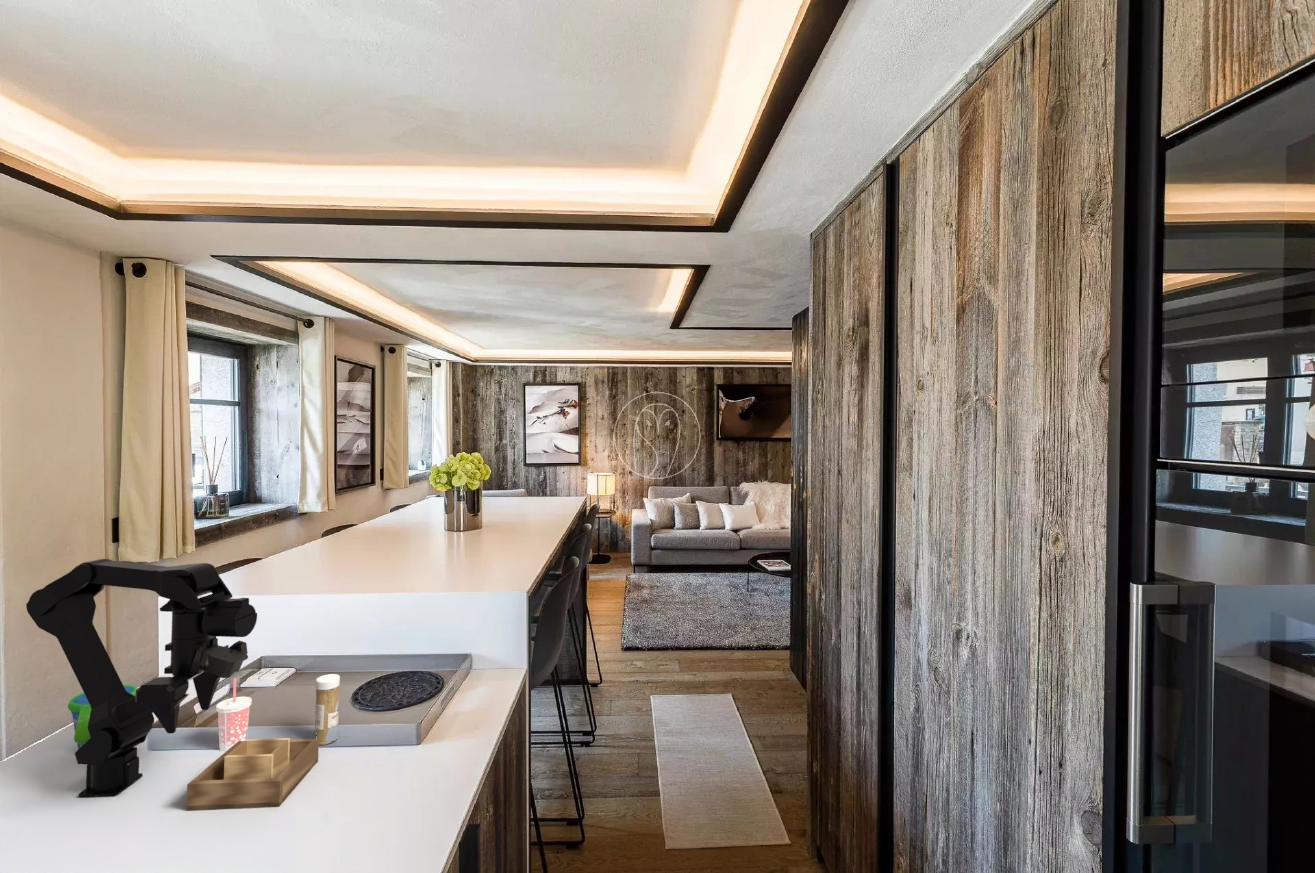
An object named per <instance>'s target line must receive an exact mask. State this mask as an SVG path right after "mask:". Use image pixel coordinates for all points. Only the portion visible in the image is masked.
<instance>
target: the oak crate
mask: <svg viewBox="0 0 1315 873" xmlns="http://www.w3.org/2000/svg"><path fill="white" fill-rule="evenodd" d="M290 739H291V738H290V737H283V738H282V737H281V738H279V737H278V738H252V739H251V738H250V739H249V738H247V739H245V740H244V741H243V742H242V743H241V744H240V745H238V746H237V747H236V748H235V749H234V750H232V751H231V752H230V753H229V754H228V755H227V756H225V759H224V780H232V779H258V778H277V777H278V776H279V775H280V774H281V773H282V772H283V771H284V770H285V769H286V768H287V766H288V765H289V753H290Z"/></svg>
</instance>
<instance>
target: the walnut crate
mask: <svg viewBox="0 0 1315 873" xmlns="http://www.w3.org/2000/svg"><path fill="white" fill-rule="evenodd" d="M242 742H243V741H238V742H237V743H236V744H234V745H233V746H232V747H231V748H230V749H228V750H227V751H226V752H225V751H224V753H223V754H221V755H220V756H219V757H218V758H217V759H216V760H214V761H213V762H212V763H210V764H209V765H208V766H207V767H206V768H205V769H203V771H201V772H200V773H199V774H198V775H197V776H196V777H194V778H193V779H192V780H191V781H190V782H188V783H187V784H186V785H187V786H186V788H187V789H186V811H189V812H190V811H208V810H209V811H210V810H211V811H212V810H213V811H214V810H230V809H231V810H234V809H255V808H279V807H280V806H282V804H283V803H284V802H285V801H286V799H287V798H288V797H289V796H290V795H291V793H293V791H294V790H295V789H296V788H297V787H298V785H299V784H300V783H301V782H302V781H303V780H304V779H305V777H306V776H307V775H308V774H309V773H310V771H311V770H312V769H313V768H314V767H315V765H316V764H317V763H318V762H319V746H320V745H319V739H315V738H297V739H295V738H293V739H292V738H290V753H289V765H288V766H287V768H286V769H285V770H284V771H283V772H282V773H281V774H280V775H279V776H278V777H277V778H258V779H232V780H224V759H225V756H227V755H228V754H229V753H230V752H231V751H232V750H234V749H235V748H236V747H237V746H238V745H240V744H241V743H242Z"/></svg>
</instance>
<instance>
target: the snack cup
mask: <svg viewBox="0 0 1315 873" xmlns="http://www.w3.org/2000/svg"><path fill="white" fill-rule="evenodd" d="M123 686H124V688H125V690H126V691H127V692H128V693H130V694H132V695H134V696H136V690H137V689H138V688H139V687H137V686H134V685H132V684H131V685H130V684H123ZM67 708H68V710H69V711H70V712H71V716H72V723H73V726H74V727H73V730H74V735H73V741H74V742H75V744H76V745H77V748H78V749H79V748H80V747H81V746H83V745H84V744H85V743H86V742H87V741H88V740H89V739H90V738H91V737H90V734H89V731H88V722H89V718H90V713H91V706H90V704H89V702H88V700H87V698H86V696H85V694H84V692H82V693H80V694H77V695H75V696H73V697H71V699H70V700H69V702H68V704H67Z"/></svg>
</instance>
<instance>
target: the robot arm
mask: <svg viewBox="0 0 1315 873" xmlns="http://www.w3.org/2000/svg"><path fill="white" fill-rule="evenodd" d="M106 586H110V587H119V588H126V589H127V588H128V589H138V590H146V591H152V592H154V593H156V594H157V595H158V596H159V597H161V598H163V599H164V598H165V599H169V600H168V601H167V602H166V603H165V604H163V605H162V606H160V608H159V611H160V612H164V613H165V612H171V638H170V639H171V640H170V642H168V643H167V644H165V645H164V652H165V651H166V652H167V651H169V652H170V665H168V666H165V667H164V668H163V669H164V670H163V671H164V672H163V674H164V675H172V676H158V677H157V676H156V677H154V678H152V679H150V680H148V681H147V682H144V683H143V684H141V685H140V686H139V687H137V688H138V689H137V690H136V696H134V695H132V694H130V693H128V692H127V691H126V690H125V688H124V686H123V685H124V684H123V682H122V680H121V678H120V676H119V674H118V672H117V669H116V667H115V665H114V663H113V661H112V660H111V657H110V656H109V653H108V652H107V649H106V648H105V645H104V643H103V641H102V639H101V638H100V636H99V634H98V632H97V629H96V628H95V626H94V623H93V622H94V619H95V618H94V616H95V614H96V608H97V604H96V601H95V597H96V596H97V595H99V594H100V593H101V592H102V591H103V590H104V589H105V587H106ZM30 595H31V596H30V597H29V598H28V599H29V600H28V601H27V602H26V604H25V606H26V611H27V613H28V615H29V616H30V618H31V619H32V621H33V622H34V623H35V624H36V626H37V627H38V628H39V629H41V630H42V631H44V632H46V633H48V634H50V635H52V636H54V637H56V639H57V641H58V642H59V644H60V646H61V648H62V649H61V650H63V653H64V655H65V656H66V658H67V662H68V663H69V665H70V667H71V669H72V672H73V673H74V675H75V677H76V679H77V681H78V683H79V685H80V688H81V689H82V691H83V692H82V693H84V694H85V696H86V698H87V700H88V702H89V704H90V706H91V713H90V718H89V722H88V731H89V734H90V737H91V738H90V739H89V740H88V741H87V742H86V743H85V744H84V745H83V746H81V747H80V748H78V749H77V750H76V751H75V752H74V756H75V759H76V760H75V761H76V763H77V765H86V778H85V789H83V790H82V791H80V792H79V793H78V795H77V796H78V797H79V798H83V797H86V798H88V797H107V796H108V797H109V796H112V797H113V796H117V795H119V794H121V793H122V792H124V791H125V790H126V789H127V788H129V787H130V786H131V785H133V784H135V783H136V782H137V781H138V780H140V779H141V778H143V775H144V774H143V772H141V773H140V757H139V756H138V747H137V746H139V745H140V744H144V742H145V741H146V739H147V736H148V734H149V733H150V731H151V730H152V729H153V725H154V724H155V717H156V718H157V720H158V722H159V723H160V725H161V726H162V728H164V731H165V732H166V733H167V734H174V733H176V731H177V727H178V720H179V713H180V709H181V706H180V705H181V703H182V702H183V701H184V700H185V699H186V698H188V696H189V695H190V694H189V693H187V692H188V691H189V690H188V689H189V688H190V687H189V686H190V685H189V683H190V682H189V681H191V680H192V681H193V685H194V689H195V692H196V696H197V701H198V704H199V707H200V709H201V710H202V711H207V710H209V708H210V707H211V703H212V700H213V698H214V696H215V692H216V690H217V687H218V685H219V682H220V681H221V679H228V678H231V677H232V676H233V675H234V674H236V673H239V672H240V670H241V668H242V665H243V663H244V662H245V661H247V659H249V655H248V652H249V651H248V645H247V644H248V643H247V642H246V641H243V640H237V641H236V642H234V643H233V644H232V645H231V646H230V645H229V644H228V645H227V644H226V645H224V646H222V645H219V642H218V640H219V639H218V637H228V638H245V637H247V636H248V635H250V634H251V633H252V632H253V631H254V629H255V627H256V624H257V620H258V613H257V612H256V608H255V606H253V605H252V604H250V598H249V597H240V598H233V593H232V592H231V591H230V589H229V588H228V587H227V585H226V584H225V583H224V581H223V579H222V578H221V576H220V575H219V573H218V570H217V569H216V568H215V565H213V564H212V563H208V562H203V563H202V562H201V563H189V564H181V565H174V566H173V565H172V566H167V565H166V566H164V565H155V564H145V563H135V562H129V561H128V562H126V561H118V560H113V559H110V558H108V559H107V558H99V559H94V560H90V561H84V562H82V563H80V564H78V565H76V566H75V567H74V568H72V570H70V571H69V572H67V573H66V574H64V575H62V576H61V577H59V578H57V579H55V580H54V581H52V582H50V583H48V584H46V585H44V586H43V588H40V589H37V590H35V591H34V592H33V593H32V594H30ZM154 716H155V717H154Z"/></svg>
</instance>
